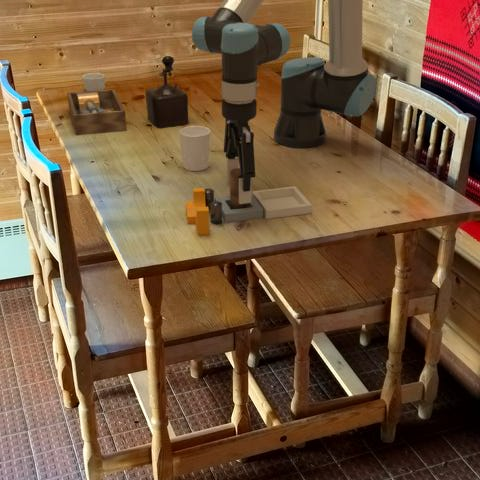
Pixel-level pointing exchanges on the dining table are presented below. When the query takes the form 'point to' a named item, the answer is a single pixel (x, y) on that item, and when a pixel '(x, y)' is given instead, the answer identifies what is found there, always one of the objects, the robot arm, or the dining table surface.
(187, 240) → the dining table surface
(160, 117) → the coffee grinder
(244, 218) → the jig block
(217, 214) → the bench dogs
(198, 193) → the pipe clamp
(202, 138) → the white cup
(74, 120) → the tool caddy
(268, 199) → the tray
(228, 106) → the robot arm
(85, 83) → the teacup
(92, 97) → the vise
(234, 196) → the dowel
